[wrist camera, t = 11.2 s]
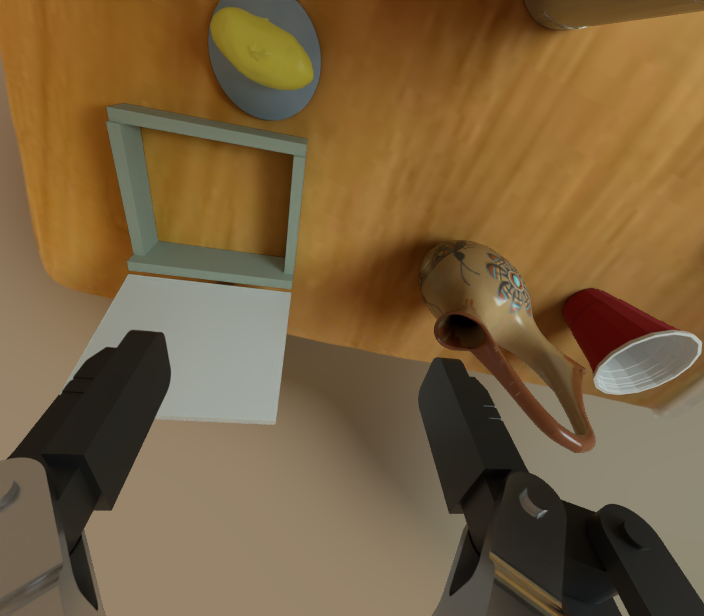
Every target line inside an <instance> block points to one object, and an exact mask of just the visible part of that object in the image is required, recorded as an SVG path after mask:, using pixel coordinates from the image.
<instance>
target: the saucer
mask: <svg viewBox="0 0 704 616" xmlns="http://www.w3.org/2000/svg"><path fill="white" fill-rule="evenodd" d="M226 7H236V8H240V9H243V10H245V11H247V12H249V13H250V14H253V15H255V16H258V17H261V18H267V19H269V22H271V23H273V24H274V25H276V26H277V27H279V28H281V29H283V30H284V31H286V32H288V33H290V34H291V35H293V36H294V37H295V39H296V40H297V41H298V43H299V44H300V45H301V46H302V47H303V49H304V50H305V52H306V53H307V55H308V57H309V58H310V61H311V63H312V67H313V73H314V77H313V80H312V82H311V83H309V84H308V85H306V86H305V87H303V88H300V89H297V90H278V89H273V88H270V87H266V86H263V85H261V84H259V83H257V82H255V81H252V80H251V79H249V78H247V77H246V76H245V75H244V74H242V73H241V72H239V71H238V70H237V68H236V67H235V66H234V65H233V64H232V63H231V62H230V61H229V60H228V59H227V58H226V57H225V56H224V54H223V53H222V52H221V51H220V50H219V48H218V47H217V46H216V44H215V42H214V40H213V37H212V34H211V29H210V26H209V33H208V48H209V56H210V61H211V64H212V68H213V71H214V73H215V76H216V78H217V80H218V82H219V84H220V86H221V87H222V89H223V90H224V92H225V93H226V95H227V96H228V97H229V98H230V99H231V100H232V102H234V103H235V104H236V105H237V106H238V107H239V108H240V109H242V110H243V111H245V112H246V113H248V114H250V115H252V116H254V117H257V118H260V119H264V120H282V119H286V118H289V117H291V116H293V115H295V114H297V113H298V112H299V111H301V110H302V109H303V108H304V107H305V106H306V105H307V103H308V102H309V101H310V100H311V98H312V96H313V94H314V92H315V90H316V88H317V85H318V81H319V77H320V71H321V52H320V46H319V41H318V37H317V34H316V31H315V29H314V26H313V24H312V22H311V20H310V18H309V16H308V15H307V13H306V12H305V10H304V9H303V8H302V6H301V5H300V4H299V3H298V2H297V1H296V0H220V2H219V3H218V5H217V7H216V8H215V10H214V13H213V15H212V18H213V16H214V15H215V14H216V13H217V12H218V11H219V10H220V9H223V8H226ZM212 18H211V20H212ZM210 24H211V22H210Z"/></svg>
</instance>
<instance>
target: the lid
mask: <svg viewBox="0 0 704 616" xmlns="http://www.w3.org/2000/svg"><path fill="white" fill-rule="evenodd" d="M290 301H291V293H290V292H281V291H272V290H263V289H255V288H246V287H237V286H229V285H220V284H211V283H202V282H194V281H185V280H176V279H167V278H159V277H150V276H141V275H132V274H128V276H127V277H126V279H125V281H124V283H123V284H122V286H121V288H120V290H119V291H118V293H117V295H116V296H115V298H114V300H113V302H112V303H111V305H110V307H109V309H108V310H107V312H106V314H105V316H104V317H103V319H102V321H101V322H100V324H99V326H98V328H97V330H96V331H95V333H94V335H93V336H92V338H91V340H90V342H89V343H88V345H87V347H86V348H85V350H84V352H83V354H82V356H81V357H80V359H79V361H78V362H77V365H76V366H75V368H74V369H73V371H72V373H71V375H70V376H69V378H68V380H67V381H66V383H65V385H64V387H63V388H62V390H63V389H64V388H65V386H66V385H67V384H68V383H69V381H70V380H73V376H74V375H75V374H76V373H77V371H78V370H79V369H80V367H81V366H82V365H83V364H84V362H85V361H86V360H87V359H89V358H90V357H92V356H93V355H95V354H96V353H98V352H99V351H101V350H102V349H104V348H105V347H115V348H117V346H118V345H119V344H120V342H121V341H122V340H123V338H124V337H125V335H126V334H127V333H128V332H129V331H130V330H144V331H155V332H162V333H164V335H165V339H166V345H167V350H168V356H169V361H170V367H171V380H170V385H169V388H168V391H167V393H166V395H165V398H164V400H163V402H162V404H161V406H160V408H159V410H158V412H157V415H156V417H155V419H165V420H186V421H207V422H229V423H249V424H250V423H251V424H271V425H275V424H276V415H277V407H278V399H279V390H280V382H281V375H282V366H283V358H284V350H285V342H286V334H287V325H288V317H289V309H290ZM62 390H61V392H60V394H59V395H61V394H62Z"/></svg>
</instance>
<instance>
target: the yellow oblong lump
mask: <svg viewBox="0 0 704 616" xmlns="http://www.w3.org/2000/svg"><path fill="white" fill-rule="evenodd" d="M210 29H211V34H212V37H213V40H214V42H215V44H216V46H217V47H218V48H219V50H220V51H221V52H222V53H223V54H224V56H225V57H226V58H227V59H228V60H229V61H230V62H231V63H232V64H233V65H234V66H235V67H236V68H237V70H238V71H239V72H241V73H242V74H244V75H245V76H246V77H247V78H249V79H251V80H252V81H255V82H257V83H259V84H261V85H263V86H266V87H270V88H273V89H278V90H297V89H300V88H303V87H305V86H306V85H308V84H309V83H311V82H312V80H313V77H314V73H313V67H312V63H311V61H310V58H309V57H308V55H307V53H306V52H305V50H304V49H303V47H302V46H301V45H300V44H299V43H298V41H297V40H296V39H295V37H294V36H293V35H291V34H290V33H288V32H286V31H284V30H283V29H281V28H279V27H277V26H276V25H274V24H273V23H271V22H269V19H267V18H261V17H258V16H255V15H253V14H250V13H249V12H247V11H245V10H243V9H240V8H236V7H226V8H223V9H220V10H219V11H218V12H217V13H216V14H215V15H214V16H213V18H212V20H211V24H210Z"/></svg>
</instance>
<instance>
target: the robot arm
mask: <svg viewBox="0 0 704 616" xmlns="http://www.w3.org/2000/svg"><path fill="white" fill-rule="evenodd" d="M524 2H525V5H526V8H527V9H528V11H529V13H530V14H531V16H532V17H533V18H534V19H535V20H536V21H537V22H538V23H539V24H540V25H542V26H545V27H547V28H549V29H555V30H565V29H579V28H584V27H588V26H597V25H604V24H611V23H618V22H626V21H633V20H640V19H647V18H655V17H662V16H669V15H677V14H684V13H691V12H698V11H704V0H524ZM170 380H171V367H170V361H169V356H168V350H167V345H166V339H165V335H164V333H162V332H155V331H144V330H130V331H129V332H128V333H127V334H126V335H125V337H124V338H123V340H122V341H121V342H120V344H119V345H118V346H117V348H115V347H105V348H104V349H102V350H101V351H99V352H98V353H96V354H95V355H93V356H92V357H90V358H89V359H87V360H86V361H85V362H84V364H83V365H82V366H81V367H80V369H79V370H78V371H77V373H76V374H75V375H74V376H73V380H70V381H69V383H68V384H67V385H66V386H65V388H64V389H63V390H62V394H61V395H58V397H57V398H56V399H55V400H54V402H53V403H52V404H51V405H50V407H49V408H48V409H47V410H46V412H45V413H44V414H43V415H42V417H41V418H40V419H39V420H38V422H37V423H36V424H35V426H34V427H33V428H32V429H31V431H30V432H29V433H28V434H27V436H26V437H25V438H24V439H23V441H22V442H21V443H20V444H19V446H18V447H17V448H16V449H15V451H14V452H13V453H12V454H11V455H10V456H9V457H8V458H7V459H6V460H3V461H0V616H106V615H105V611H104V608H103V604H102V600H101V596H100V592H99V588H98V584H97V580H96V576H95V572H94V567H93V563H92V560H91V556H90V551H89V547H88V543H87V539H86V535H85V531H84V527H85V526H86V523H87V522H88V520H89V518H90V516H91V514H92V512H93V510H109V511H110V510H112V508H113V506H114V504H115V502H116V500H117V498H118V495H119V493H120V491H121V489H122V487H123V485H124V483H125V481H126V478H127V476H128V474H129V472H130V470H131V468H132V466H133V463H134V461H135V459H136V457H137V455H138V453H139V451H140V449H141V447H142V444H143V442H144V440H145V438H146V436H147V433H148V432H149V429H150V427H151V425H152V423H153V421H154V419H155V417H156V415H157V412H158V410H159V408H160V406H161V404H162V402H163V400H164V398H165V395H166V393H167V391H168V388H169V385H170ZM418 402H419V409H420V412H421V416H422V419H423V423H424V426H425V430H426V433H427V437H428V441H429V444H430V448H431V451H432V455H433V458H434V462H435V465H436V469H437V472H438V476H439V479H440V483H441V486H442V490H443V493H444V497H445V500H446V504H447V507H448V511H449V513H450V514H464V515H465V519H466V522H467V524H466V525H465V527H464V529H463V532H462V535H461V538H460V542H459V545H458V548H457V551H456V554H455V558H454V560H453V564H452V567H451V570H450V573H449V576H448V579H447V582H446V586H445V589H444V592H443V595H442V597H441V600H440V602H439V604H438V606H437V608H436V609H435V611H434V613H433V615H432V616H622V615H621V613H620V611H619V609H618V607H617V605H616V603H615V601H614V599H613V597H614V596H616V595H618V594H619V596H620V598H621V600H622V602H623V604H624V605H625V608H626V609H627V611H628V613H629V615H630V616H704V603H703V602H702V600H701V599H700V597H699V596H698V594H697V593H696V591H695V590H694V588H693V587H692V585H691V584H690V582H689V581H688V579H687V578H686V576H685V575H684V573H683V572H682V570H681V569H680V567H679V566H678V564H677V563H676V562H675V560H674V558H673V557H672V555H671V554H670V553H669V551H668V550H667V548H666V546H665V545H664V543H663V542H662V540H661V539H660V538H659V536H658V535H657V533H656V532H655V531H654V530H653V529H652V527H651V526H650V525H649V524H648V523H647V522H646V521H645V520H643V519H642V518H641V517H640V516H638V515H637V514H636V513H634V512H633V511H631V510H629V509H627V508H625V507H623V506H620V505H616V504H608V505H605V506H604V507H603V508H601V509H600V510H599V511H597V512H593V511H590V510H588V509H585V508H582V507H580V506H577V505H574V504H571V503H569V502H566V501H563V500H561V499H560V498H559V496H558V495H557V493H556V492H555V491H554V490H553V489H552V488H551V487H550V486H549V485H548V484H547V483H546V482H545V481H543V480H542V479H541V478H539V477H537V476H536V475H533V474H531V473H529V472H528V470H527V468H526V466H525V464H524V462H523V460H522V458H521V456H520V454H519V452H518V450H517V448H516V446H515V444H514V443H513V440H512V438H511V436H510V434H509V432H508V431H507V429H506V427H505V425H504V423H503V421H501V417H500V415H499V413H498V411H497V409H496V408H494V403H493V401H492V399H491V397H490V395H489V393H488V391H487V390H486V389H485V388H484V386H483V385H482V384H481V383H480V382H479V381H478V380H477V379H476V378H475V377H469V375H468V373H467V371H466V369H465V367H464V364H463V363H462V361H461V360H459V359H450V358H438V357H436V358H435V359H434V360H433V361H432V363H431V366H430V368H429V370H428V372H427V374H426V376H425V379H424V381H423V383H422V385H421V387H420V390H419V397H418Z"/></svg>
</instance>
